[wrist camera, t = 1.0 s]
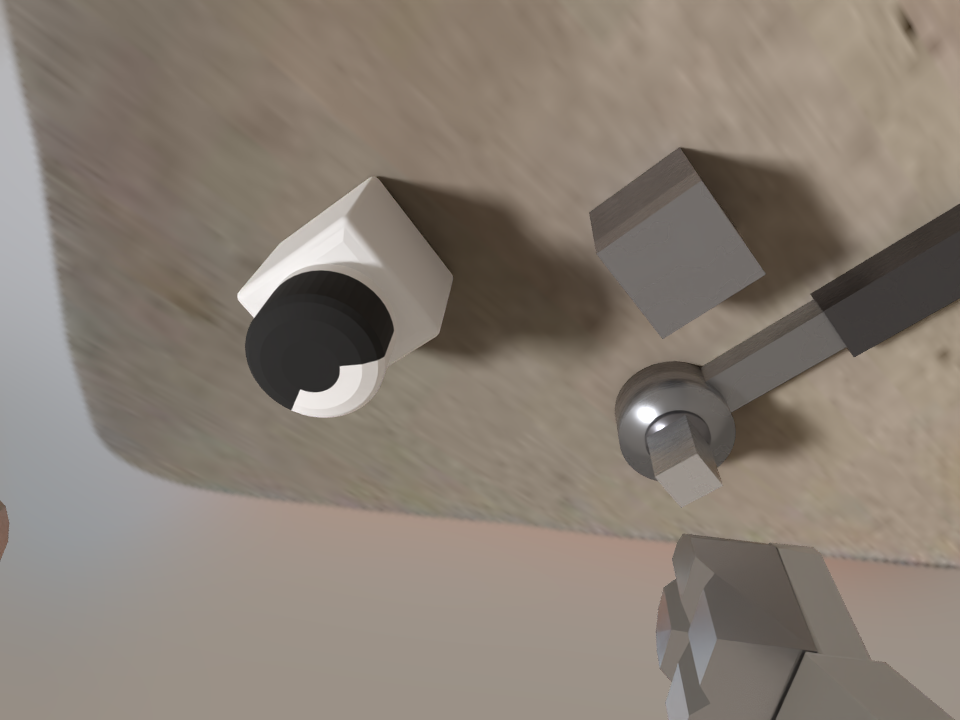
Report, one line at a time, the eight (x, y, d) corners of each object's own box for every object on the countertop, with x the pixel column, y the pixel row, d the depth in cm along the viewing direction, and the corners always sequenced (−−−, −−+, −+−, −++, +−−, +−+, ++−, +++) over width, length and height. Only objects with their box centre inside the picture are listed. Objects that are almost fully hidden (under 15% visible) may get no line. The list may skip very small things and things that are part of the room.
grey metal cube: (679, 147, 39) (701, 180, 33) (736, 230, 40) (766, 274, 35) (589, 212, 41) (596, 254, 35) (647, 289, 42) (662, 339, 37)
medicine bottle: (276, 244, 43) (190, 345, 32) (375, 172, 40) (317, 255, 30) (359, 340, 45) (304, 462, 35) (456, 277, 43) (429, 387, 32)
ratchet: (963, 170, 38) (1044, 215, 32) (1014, 266, 40) (1099, 325, 34) (593, 399, 46) (601, 470, 40) (653, 469, 48) (669, 547, 42)
